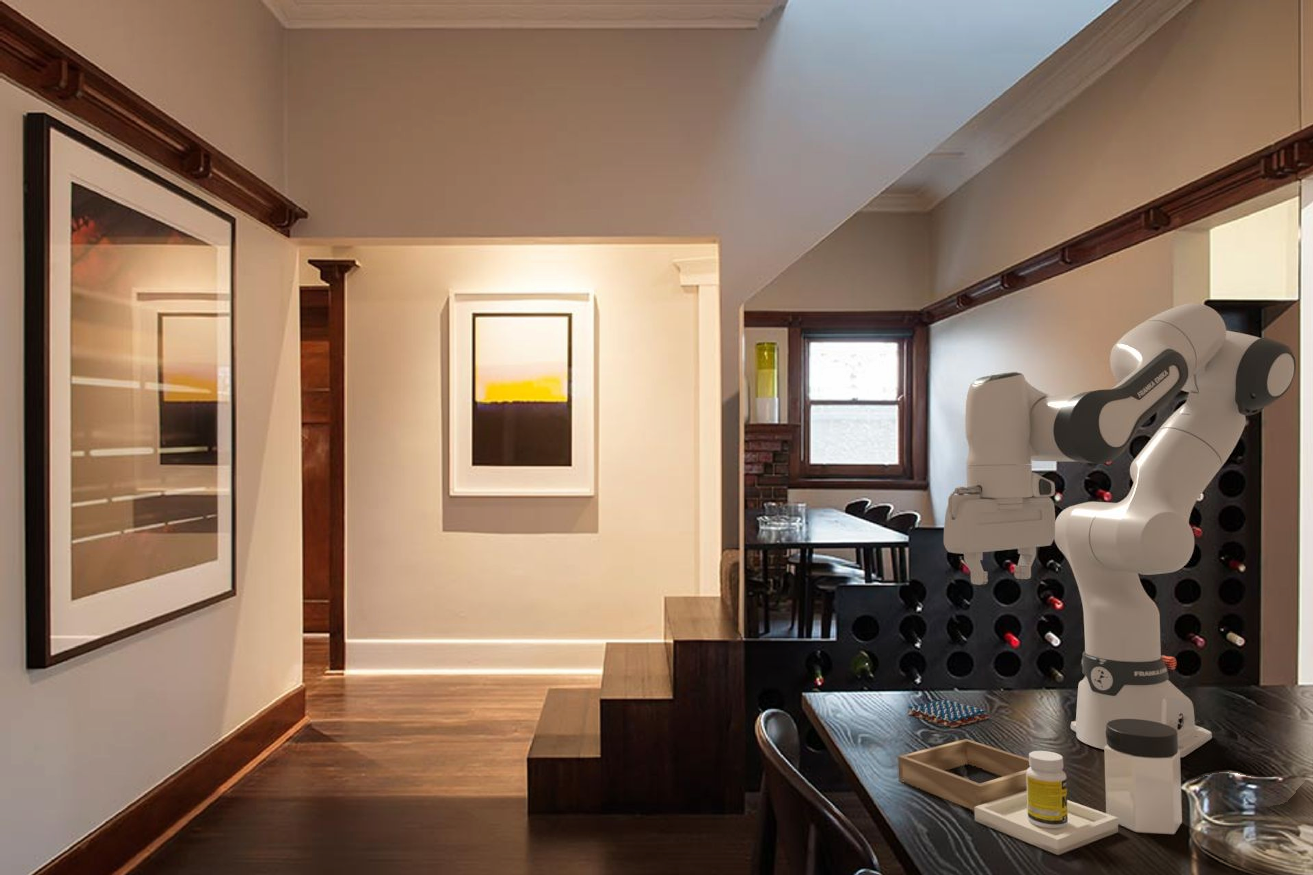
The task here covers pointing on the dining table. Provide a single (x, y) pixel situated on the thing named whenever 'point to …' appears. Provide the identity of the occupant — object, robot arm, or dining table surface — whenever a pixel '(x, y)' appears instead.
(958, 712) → the woven mat
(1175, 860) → the dining table surface
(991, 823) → the tray
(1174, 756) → the jar
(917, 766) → the frame
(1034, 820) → the supplement bottle
